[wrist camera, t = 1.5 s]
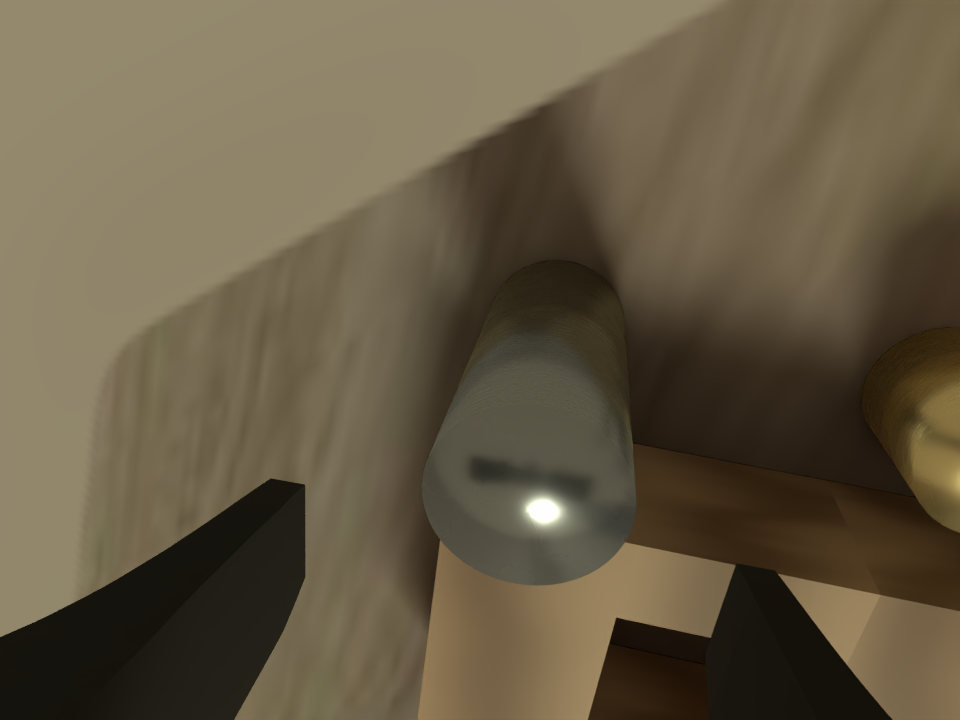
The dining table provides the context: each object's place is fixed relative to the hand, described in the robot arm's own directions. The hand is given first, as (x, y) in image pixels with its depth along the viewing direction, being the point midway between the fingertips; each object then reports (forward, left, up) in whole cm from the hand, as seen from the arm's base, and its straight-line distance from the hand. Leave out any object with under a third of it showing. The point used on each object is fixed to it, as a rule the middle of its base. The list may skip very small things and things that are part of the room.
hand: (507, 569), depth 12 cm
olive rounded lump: (-11, 0, -11) cm, 15 cm away
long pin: (0, 0, -11) cm, 11 cm away
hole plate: (-6, +9, -11) cm, 15 cm away
